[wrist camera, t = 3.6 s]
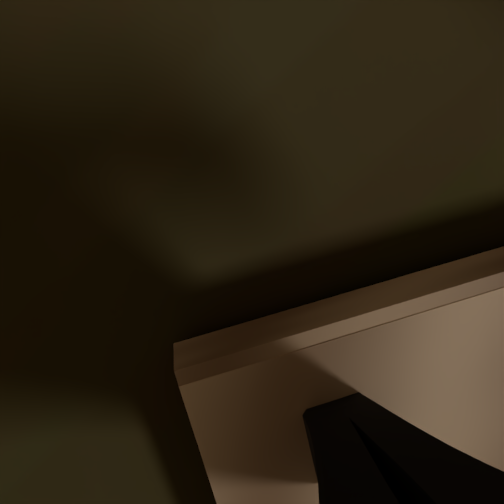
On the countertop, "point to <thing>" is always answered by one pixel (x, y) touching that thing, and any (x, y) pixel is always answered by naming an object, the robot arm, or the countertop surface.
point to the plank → (349, 375)
